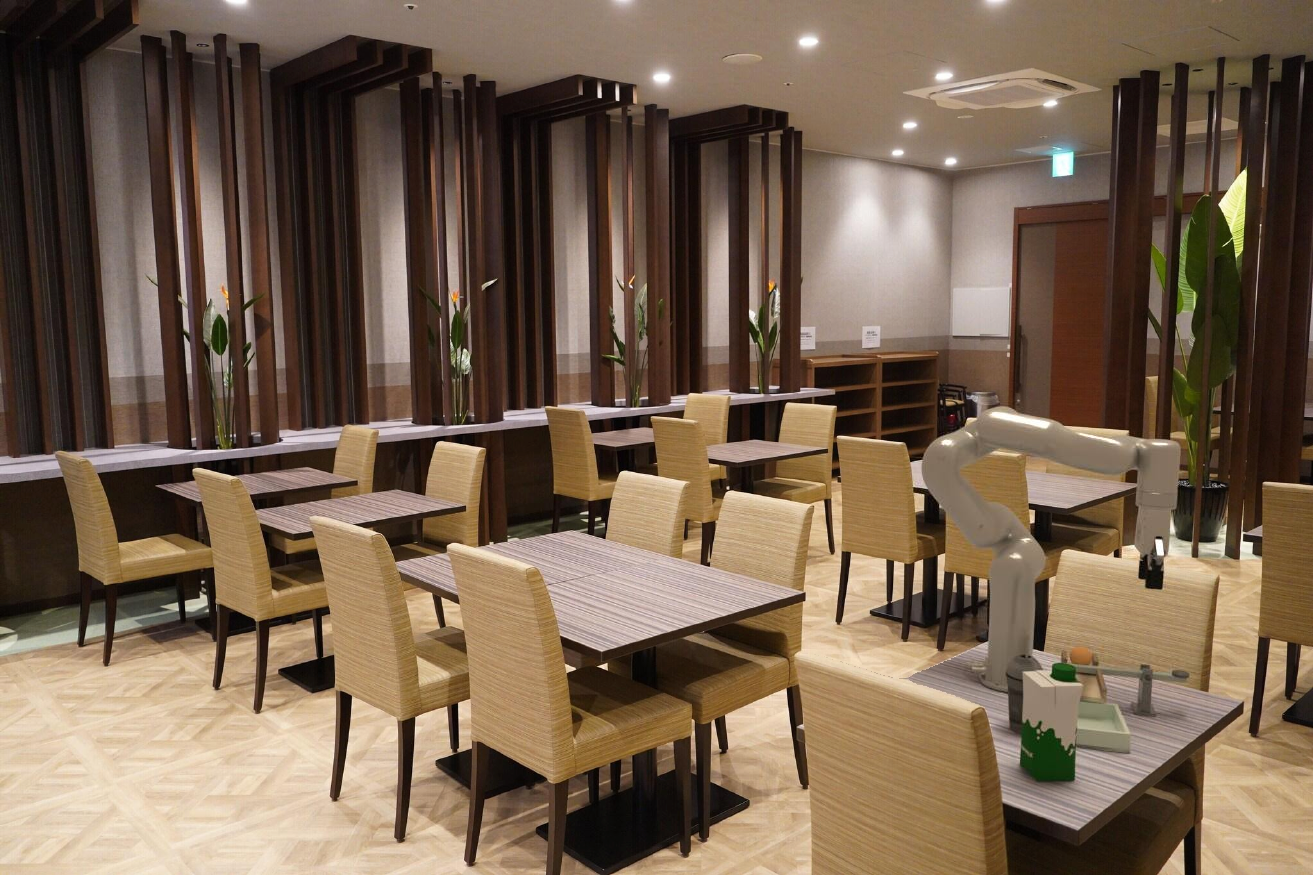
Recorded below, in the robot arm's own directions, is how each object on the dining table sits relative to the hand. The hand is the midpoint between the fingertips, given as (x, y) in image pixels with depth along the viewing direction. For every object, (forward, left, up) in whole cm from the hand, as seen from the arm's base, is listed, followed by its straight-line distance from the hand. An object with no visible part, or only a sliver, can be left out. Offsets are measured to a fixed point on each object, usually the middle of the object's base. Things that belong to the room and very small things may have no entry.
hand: (1150, 583), depth 204 cm
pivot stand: (+1, 0, -28) cm, 28 cm away
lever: (-4, 0, -20) cm, 21 cm away
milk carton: (-22, -36, -28) cm, 51 cm away
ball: (-12, +3, -18) cm, 22 cm away
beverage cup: (-25, -18, -28) cm, 42 cm away
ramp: (-12, -2, -28) cm, 30 cm away
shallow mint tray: (-12, -16, -28) cm, 34 cm away
